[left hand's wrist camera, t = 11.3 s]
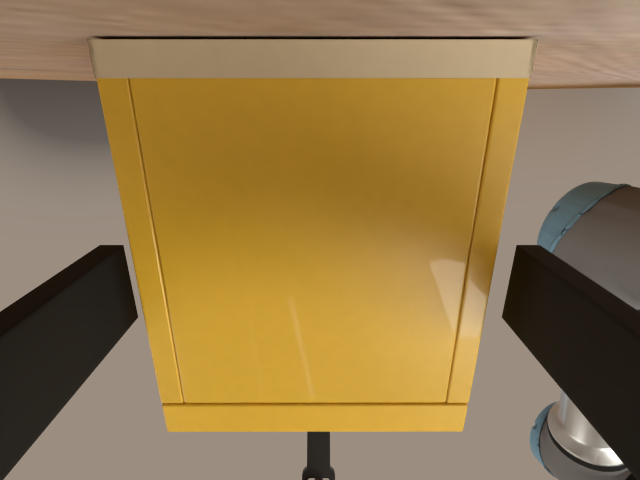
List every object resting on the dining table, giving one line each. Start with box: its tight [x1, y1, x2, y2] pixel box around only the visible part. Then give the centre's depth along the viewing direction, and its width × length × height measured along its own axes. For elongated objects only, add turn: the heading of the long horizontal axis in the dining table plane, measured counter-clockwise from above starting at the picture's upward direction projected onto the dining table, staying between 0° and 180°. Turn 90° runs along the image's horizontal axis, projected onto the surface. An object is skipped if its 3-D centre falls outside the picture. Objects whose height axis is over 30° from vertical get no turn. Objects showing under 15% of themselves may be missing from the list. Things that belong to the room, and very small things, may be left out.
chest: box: [87, 39, 538, 403], centre depth 18 cm, size 17×10×10 cm, turn 0°
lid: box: [162, 401, 468, 432], centre depth 22 cm, size 18×10×9 cm, turn 0°
